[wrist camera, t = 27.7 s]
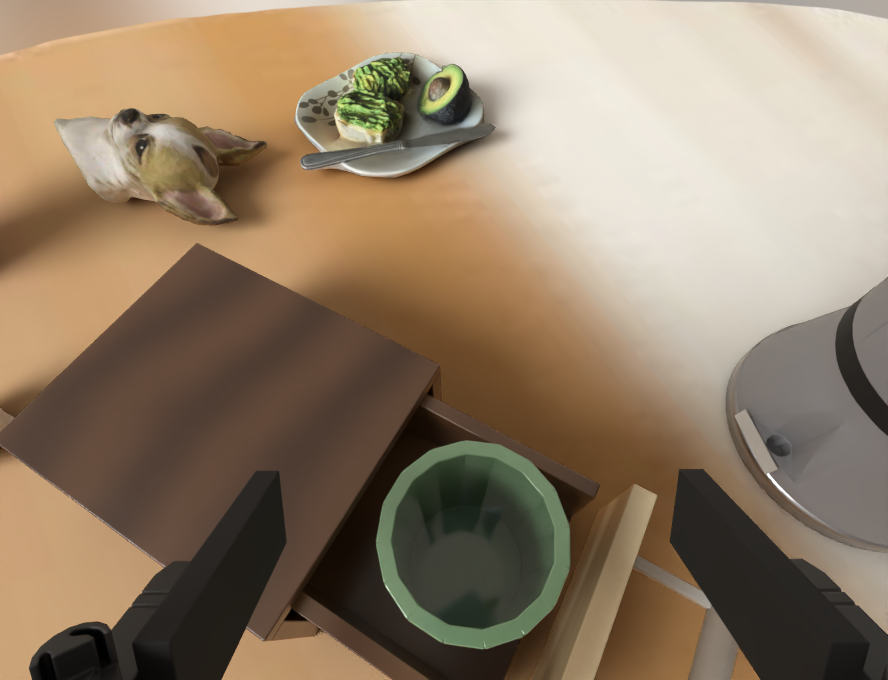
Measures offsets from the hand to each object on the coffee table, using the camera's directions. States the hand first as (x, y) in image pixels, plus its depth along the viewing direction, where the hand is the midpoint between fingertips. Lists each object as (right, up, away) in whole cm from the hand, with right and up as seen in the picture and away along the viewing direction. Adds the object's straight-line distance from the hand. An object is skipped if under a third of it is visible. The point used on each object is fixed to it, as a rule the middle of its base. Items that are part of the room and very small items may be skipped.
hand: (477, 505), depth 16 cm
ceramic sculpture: (-25, +19, +30) cm, 43 cm away
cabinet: (-13, -2, +17) cm, 21 cm away
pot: (0, -7, +12) cm, 14 cm away
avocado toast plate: (-6, +28, +34) cm, 44 cm away
